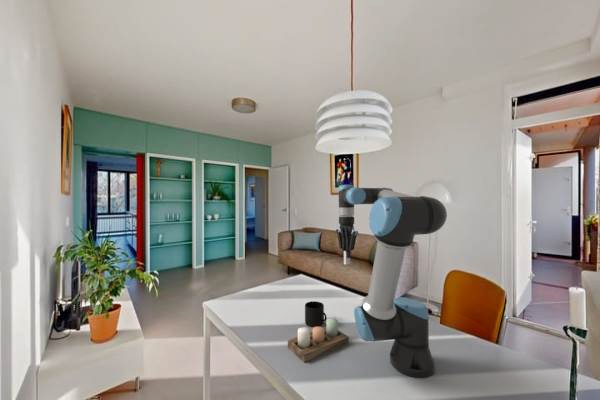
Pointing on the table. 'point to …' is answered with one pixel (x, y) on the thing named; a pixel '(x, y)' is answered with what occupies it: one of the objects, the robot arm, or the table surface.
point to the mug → (314, 314)
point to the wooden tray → (318, 346)
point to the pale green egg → (332, 327)
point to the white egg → (303, 338)
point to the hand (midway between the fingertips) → (346, 263)
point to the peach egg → (318, 334)
